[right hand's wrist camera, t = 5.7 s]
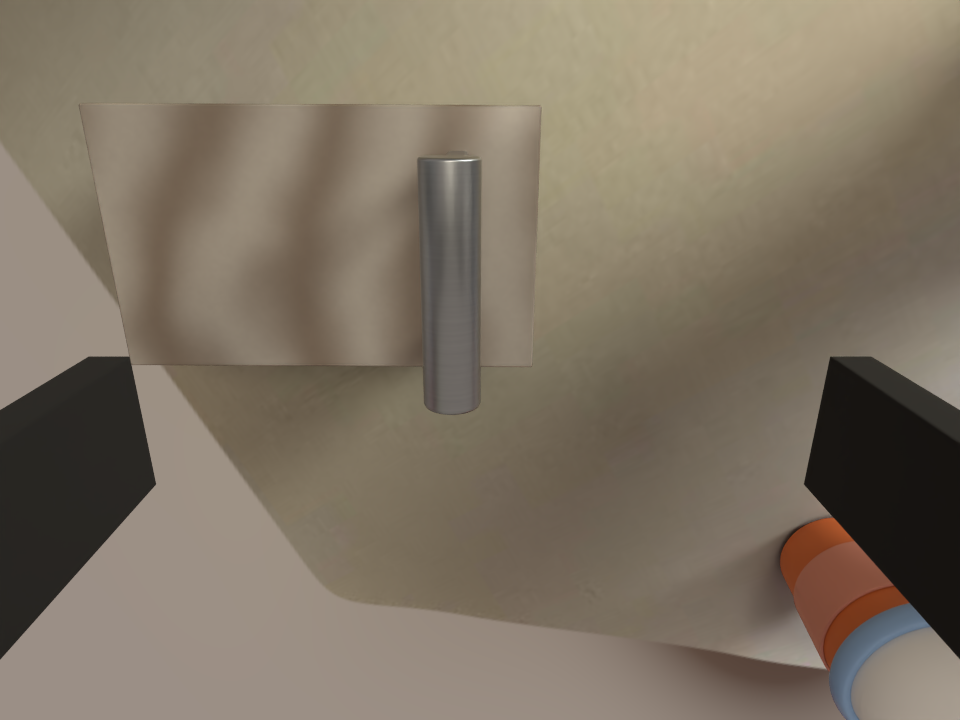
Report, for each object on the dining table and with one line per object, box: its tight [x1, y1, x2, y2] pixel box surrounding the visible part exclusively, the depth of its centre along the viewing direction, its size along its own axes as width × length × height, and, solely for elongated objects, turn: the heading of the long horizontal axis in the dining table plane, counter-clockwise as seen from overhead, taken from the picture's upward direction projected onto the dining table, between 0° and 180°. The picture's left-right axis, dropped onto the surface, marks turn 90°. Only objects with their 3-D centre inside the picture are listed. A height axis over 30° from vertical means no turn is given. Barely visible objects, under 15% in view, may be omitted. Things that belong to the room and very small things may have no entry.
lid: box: [79, 103, 541, 415], centre depth 22 cm, size 17×10×8 cm, turn 90°
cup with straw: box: [780, 518, 960, 720], centre depth 35 cm, size 9×9×18 cm
